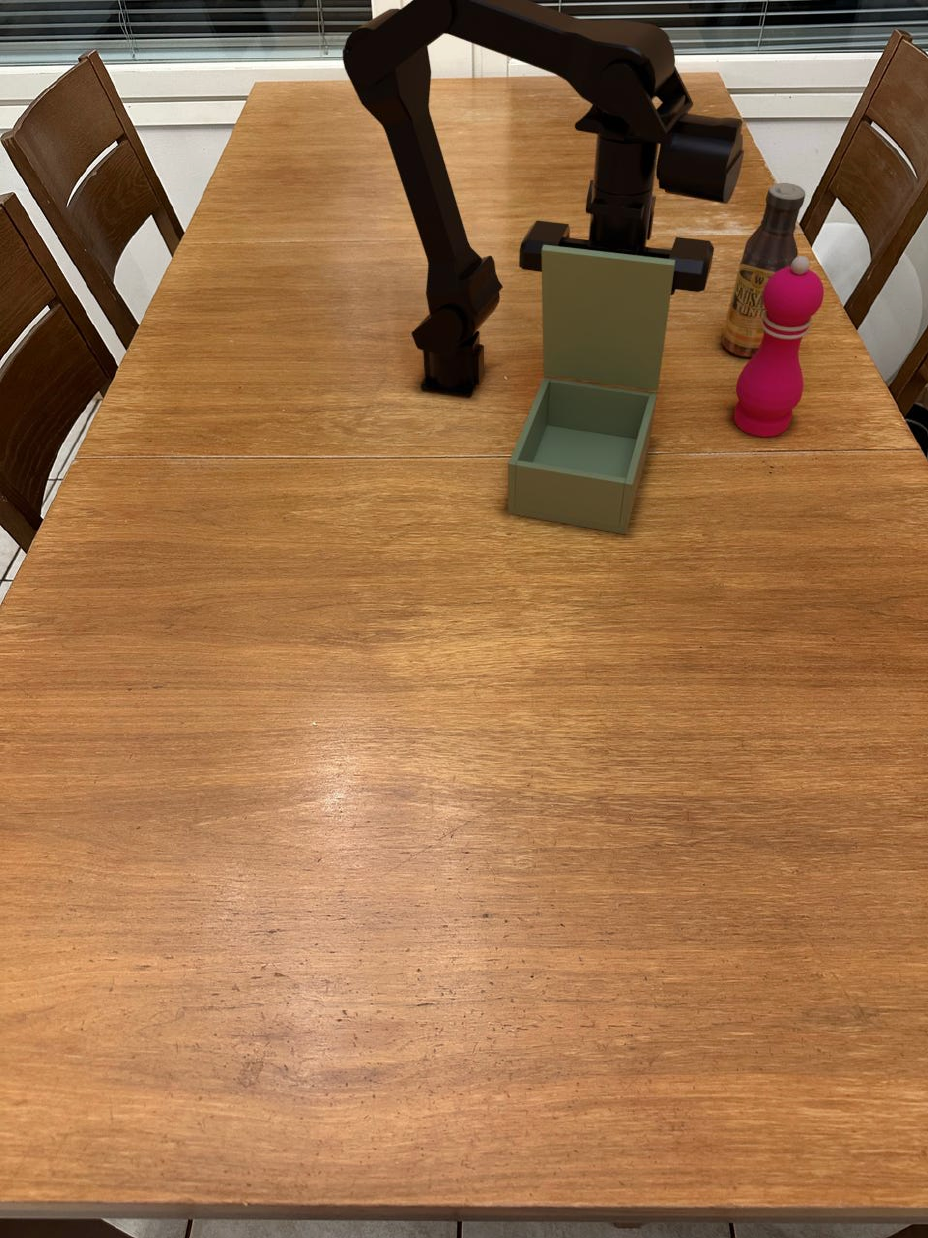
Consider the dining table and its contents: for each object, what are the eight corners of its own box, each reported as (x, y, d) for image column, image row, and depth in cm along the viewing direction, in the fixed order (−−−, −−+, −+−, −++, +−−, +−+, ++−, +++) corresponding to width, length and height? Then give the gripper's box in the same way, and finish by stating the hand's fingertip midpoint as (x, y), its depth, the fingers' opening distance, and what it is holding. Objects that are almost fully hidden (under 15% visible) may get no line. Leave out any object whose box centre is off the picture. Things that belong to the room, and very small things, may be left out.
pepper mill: (794, 443, 106) (842, 277, 91) (728, 436, 108) (765, 272, 93) (792, 405, 111) (838, 241, 96) (729, 399, 112) (765, 236, 97)
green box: (625, 534, 97) (632, 484, 92) (507, 513, 100) (508, 463, 95) (650, 442, 107) (657, 392, 102) (541, 425, 110) (543, 375, 105)
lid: (673, 265, 88) (683, 228, 90) (541, 249, 90) (553, 214, 93) (657, 391, 102) (665, 357, 104) (543, 375, 104) (553, 341, 107)
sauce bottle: (713, 352, 119) (745, 195, 104) (729, 328, 122) (761, 172, 107) (765, 366, 116) (804, 206, 102) (779, 340, 120) (819, 183, 105)
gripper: (732, 159, 93) (706, 306, 104) (547, 141, 97) (541, 284, 108) (718, 207, 86) (691, 359, 97) (519, 185, 90) (516, 334, 101)
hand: (608, 331), depth 101 cm, fingers closed on lid, 6 cm apart
